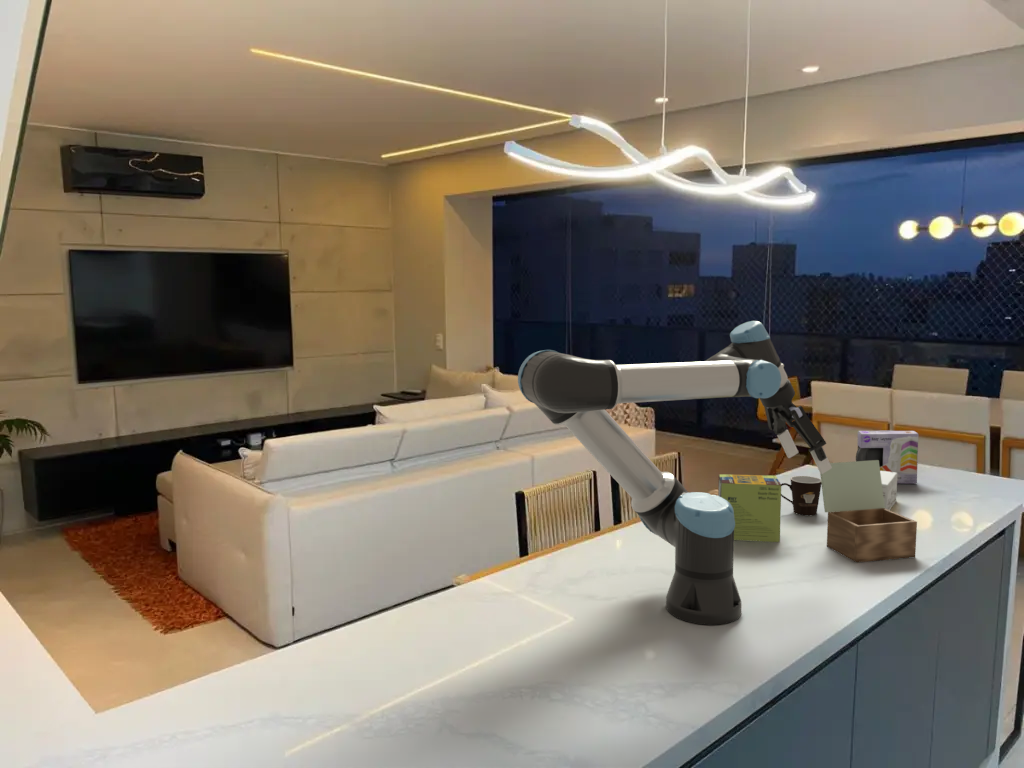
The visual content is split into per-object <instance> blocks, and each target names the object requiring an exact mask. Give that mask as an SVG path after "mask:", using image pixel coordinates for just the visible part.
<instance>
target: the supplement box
mask: <svg viewBox="0 0 1024 768" xmlns="http://www.w3.org/2000/svg"><path fill="white" fill-rule="evenodd" d="M880 474H881V482H882V489H883V497H884V505H885V509H888V510H890V511H891V509H892V508H891V507H894V505H895V503H896V502H897V496H898V495H897V493H898V491H897V489H898V483H897V473H896V472H888V471H880ZM864 510H865V509H864Z"/></svg>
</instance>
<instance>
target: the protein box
mask: <svg viewBox="0 0 1024 768" xmlns="http://www.w3.org/2000/svg"><path fill="white" fill-rule="evenodd" d="M781 484H782V483H781V482H780V480H779V479H778V477H777V475H762V474H761V475H759V474H755V475H754V474H718V494H717V496H720V497H722V498H724V499H725V500H727V501H728V502H729V503H730V504H731V506H732V507H733V510H734V520H735V528H734V541H744V542H745V541H746V542H761V541H762V542H764V543H780V542H781V512H782V511H781V510H782V509H781V508H782V505H781V504H782V496H781V494H782V486H781ZM762 542H761V543H762Z"/></svg>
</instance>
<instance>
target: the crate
mask: <svg viewBox="0 0 1024 768" xmlns="http://www.w3.org/2000/svg"><path fill="white" fill-rule="evenodd" d="M917 526H918V521H916V520H914V519H911V518H909V517H907V516H904V515H902V514H900V513H897V512H894V511H893V510H891V509H890V510H888V509H885V508H878V509H865V510H851V511H838V512H827V529H826V530H827V532H826V547H827V548H828V549H831V550H832V549H833V551H834V550H835V551H834V552H836V553H838V554H840V555H841V554H842V555H841V556H843V557H845V558H847V559H848V560H851V561H852V562H854V563H855V564H857V563H867V562H868V563H869V562H879V561H880V560H881V561H889V559H892V560H900V559H899V558H903V559H910V558H909V557H914V558H916V550H917V549H916V548H917V531H918V530H917Z"/></svg>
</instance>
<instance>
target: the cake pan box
mask: <svg viewBox="0 0 1024 768" xmlns="http://www.w3.org/2000/svg"><path fill="white" fill-rule="evenodd" d="M856 446H857V451H856V454H855V461H871V460H879V466H880V471H888V472H896V473H897V484H918V465H919V464H918V462H919V461H918V460H919V459H918V458H919V433H918V432H916V431H915V430H858V431H857V445H856Z"/></svg>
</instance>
